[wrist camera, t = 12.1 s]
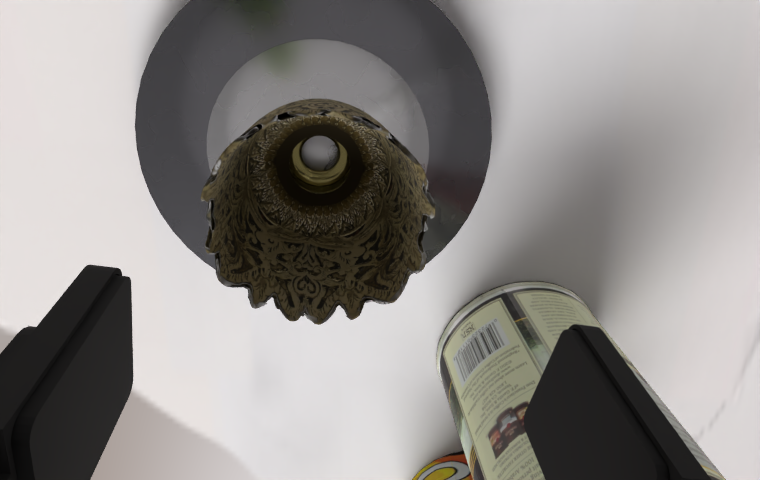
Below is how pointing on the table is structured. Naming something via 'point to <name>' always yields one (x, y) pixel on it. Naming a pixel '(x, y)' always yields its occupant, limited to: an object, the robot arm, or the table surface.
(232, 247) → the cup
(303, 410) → the table surface
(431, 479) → the yellow tin can
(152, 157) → the gray dinner plate
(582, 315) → the coffee can
